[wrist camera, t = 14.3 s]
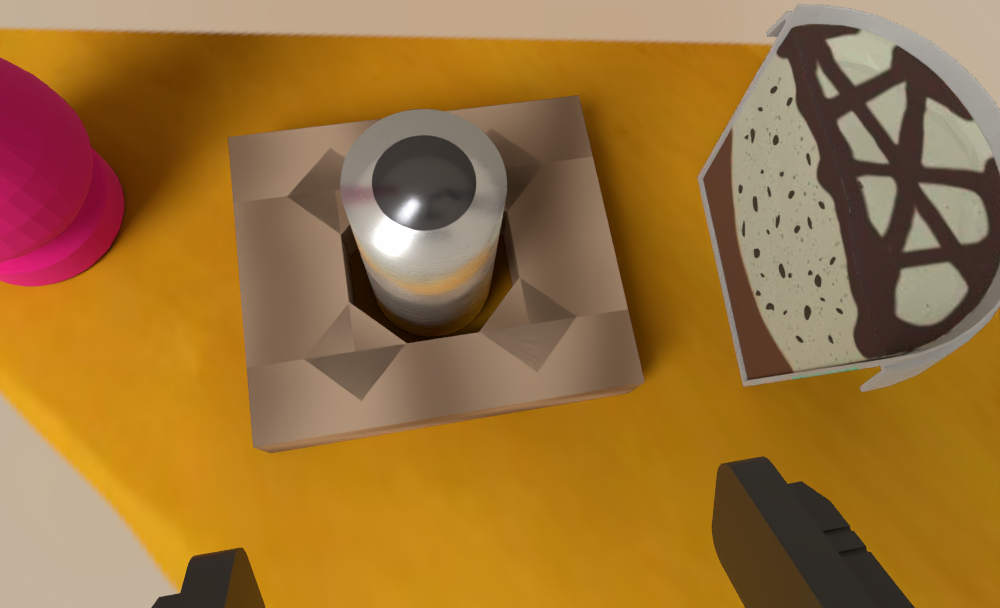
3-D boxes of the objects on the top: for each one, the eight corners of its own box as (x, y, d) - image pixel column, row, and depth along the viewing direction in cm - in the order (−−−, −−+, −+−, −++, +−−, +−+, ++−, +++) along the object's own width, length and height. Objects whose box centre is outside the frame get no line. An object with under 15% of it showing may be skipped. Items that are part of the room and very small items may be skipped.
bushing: (480, 218, 30) (492, 99, 21) (499, 326, 29) (520, 247, 20) (366, 233, 30) (331, 118, 21) (380, 344, 28) (349, 271, 20)
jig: (569, 127, 32) (578, 95, 29) (628, 393, 28) (644, 382, 26) (246, 166, 30) (228, 137, 28) (270, 453, 27) (253, 447, 24)
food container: (895, 406, 29) (1114, 354, 19) (751, 424, 28) (903, 379, 19) (821, 136, 32) (976, -22, 23) (690, 147, 32) (794, -11, 22)
